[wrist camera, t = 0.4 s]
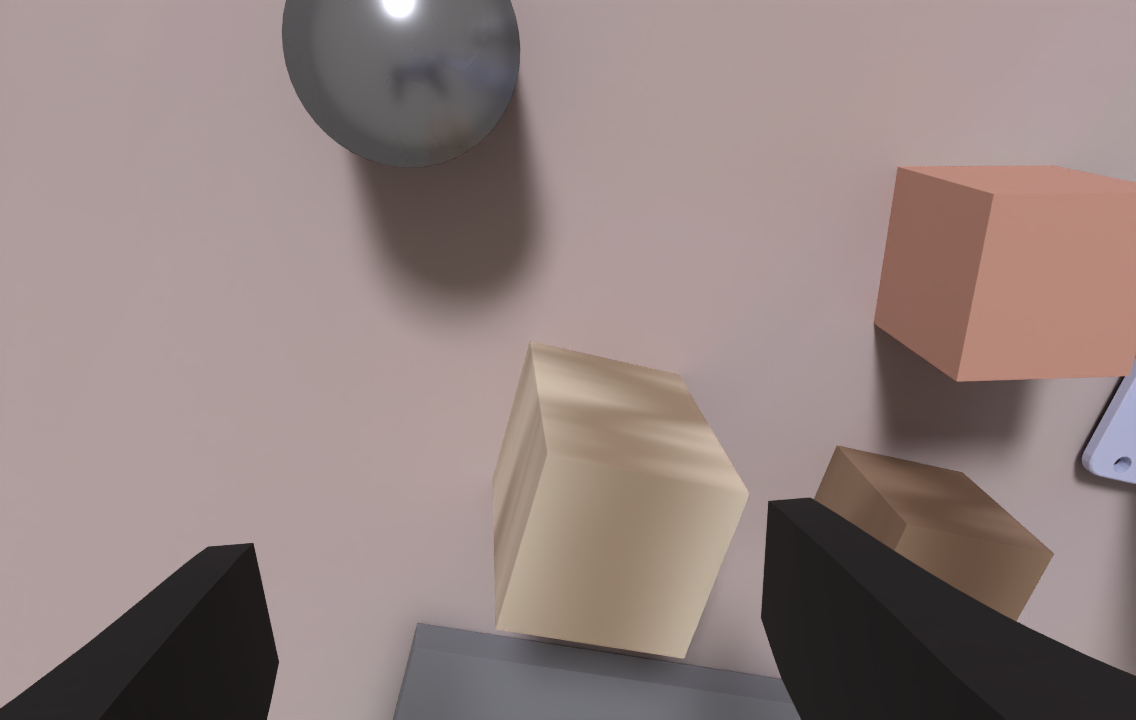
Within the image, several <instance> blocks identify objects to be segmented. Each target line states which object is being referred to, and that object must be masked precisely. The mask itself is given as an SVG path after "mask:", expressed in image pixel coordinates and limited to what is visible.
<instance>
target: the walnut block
mask: <svg viewBox="0 0 1136 720" xmlns="http://www.w3.org/2000/svg"><path fill="white" fill-rule="evenodd" d="M814 500H815V501H817V502H819V503H821V504H822V505H824V506H826V507H827V508H829V509H831V510H832V511H834V512H835V513H837V514H838V515H840V516H842V517H843V518H845V519H846V520H848V521H849V522H851V523H852V524H854V525H856V526H857V527H859V528H860V529H862V530H863V531H865V532H866V533H868V534H869V535H871V536H872V537H874V538H876V539H877V540H879V541H880V542H882V543H883V544H885V545H886V546H888V547H889V548H891V549H893V550H894V551H896V552H897V553H899V554H900V555H902V556H904V557H905V558H907V559H908V560H910V561H912V562H913V563H915V564H916V565H918V566H920V567H921V568H923V569H924V570H926V571H928V572H929V573H931V574H933V575H934V576H936V577H938V578H939V579H941V580H943V581H944V582H946V583H948V584H949V585H951V586H953V587H955V588H956V589H958V590H960V591H962V592H963V593H965V594H967V595H969V596H971V597H972V598H974V599H976V600H978V601H980V602H981V603H983V604H985V605H987V606H988V607H990V608H992V609H994V610H996V611H997V612H999V613H1001V614H1003V615H1005V616H1007V617H1009V618H1011V619H1013V620H1015V621H1017V619H1018V617H1019V615H1020V614H1021V612H1022V610H1023V608H1024V607H1025V605H1026V603H1027V601H1028V599H1029V598H1030V596H1031V594H1032V592H1033V590H1034V589H1035V587H1036V585H1037V583H1038V582H1039V580H1040V578H1041V576H1042V574H1043V573H1044V571H1045V569H1046V567H1047V566H1048V564H1049V562H1050V560H1051V558H1052V557H1053V555H1054V553H1053V552H1052V551H1051V550H1049V549H1048V548H1047V547H1046V546H1045V545H1044V544H1043V543H1042V542H1040V541H1039V540H1038V539H1037V538H1036V537H1035V536H1034V535H1033V534H1031V533H1030V532H1029V531H1028V530H1027V529H1026V528H1025V527H1024V526H1022V525H1021V524H1020V523H1019V522H1018V521H1017V520H1016V519H1015V518H1013V517H1012V516H1011V515H1010V514H1009V513H1008V512H1007V511H1005V510H1004V509H1003V508H1002V507H1001V506H1000V505H999V504H998V503H996V502H995V501H994V500H993V499H992V498H991V497H990V496H989V495H987V494H986V493H985V492H984V491H983V490H982V489H981V488H980V487H978V486H977V485H976V484H975V483H974V482H973V481H972V480H971V479H969V478H968V477H967V476H966V475H965V474H964V473H962V472H957V471H952V470H948V469H943V468H939V467H934V466H929V465H925V464H920V463H916V462H911V461H906V460H902V459H897V458H892V457H888V456H883V455H879V454H874V453H869V452H865V451H860V450H855V449H851V448H846V447H842V446H837V447H836V449H835V451H834V454H833V456H832V458H831V461H830V463H829V465H828V468H827V470H826V472H825V475H824V477H823V479H822V482H821V484H820V486H819V489H818V491H817V493H816V496H815V498H814Z"/></svg>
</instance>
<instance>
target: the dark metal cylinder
mask: <svg viewBox="0 0 1136 720" xmlns="http://www.w3.org/2000/svg"><path fill="white" fill-rule="evenodd" d="M282 41H283V51H284V57H285V63H286V67H287V70H288V73H289V76H290V80H291V82H292V84H293V87H294V89H295V91H296V93H297V96H298V97H299V99H300V101H301V102H302V104H303V106H304V107H305V109H306V111H307V112H308V113H309V114H310V116H311V117H312V118H313V120H314V121H315V122H316V123H317V124H318V125H319V126H320V128H321V129H322V130H323V131H324V132H325V133H326V134H327V135H329V136H330V137H331V138H332V139H333V140H335V141H336V142H337V143H338V144H340V145H341V146H343V147H344V148H346V149H348V150H349V151H351V152H352V153H354V154H357V155H359V156H361V157H363V158H365V159H367V160H370V161H374V162H377V163H380V164H384V165H389V166H394V167H408V168H413V167H426V166H431V165H435V164H440V163H443V162H446V161H448V160H451V159H454V158H456V157H458V156H460V155H461V154H463V153H465V152H467V151H468V150H470V149H471V148H473V147H474V146H475V145H477V144H478V143H479V142H480V141H481V140H483V139H484V138H485V137H486V136H487V135H488V134H489V133H490V132H491V130H492V129H493V128H494V127H495V125H496V124H497V123H498V122H499V120H500V118H501V117H502V115H503V114H504V112H505V110H506V108H507V106H508V104H509V102H510V100H511V97H512V95H513V91H514V88H515V85H516V82H517V76H518V71H519V64H520V40H519V31H518V26H517V21H516V16H515V13H514V10H513V7H512V4H511V1H510V0H286V3H285V8H284V13H283V24H282Z"/></svg>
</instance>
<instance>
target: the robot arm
mask: <svg viewBox="0 0 1136 720" xmlns="http://www.w3.org/2000/svg"><path fill="white" fill-rule="evenodd" d="M1119 458H1120V460H1119V462H1118V463H1117V464H1115V465H1114V463H1115V462H1116V461H1117V459H1119ZM1082 464H1083V466H1084V467H1085V469H1087V470H1088V471H1090V472H1091V473H1093V474H1095V475H1097V476H1100V477H1105V478H1109V479H1114V480H1118V481H1123V482H1127V483H1131V484H1136V358H1135V359H1134V362H1133V366H1132V369H1131V373H1130V376H1125V378H1124V379H1123V381H1122V383H1121V385H1120V387H1119V389H1118V390H1117V392H1116V394H1115V396H1114V398H1113V400H1112V401H1111V403H1110V405H1109V407H1108V409H1107V411H1106V412H1105V414H1104V416H1103V418H1102V420H1101V422H1100V423H1099V425H1098V427H1097V429H1096V431H1095V433H1094V434H1093V436H1092V438H1091V440H1090V442H1089V444H1088V445H1087V447H1086V449H1085V451H1084V453H1083V456H1082ZM761 619H762V622H763V625H764V628H765V631H766V634H767V637H768V640H769V644H770V647H771V650H772V653H773V655H774V658H775V661H776V664H777V667H778V670H779V672H780V675H781V678H782V681H783V683H784V685H785V687H786V689H787V692H788V694H789V696H790V698H791V700H792V702H793V704H794V706H795V708H796V710H797V712H798V714H799V716H800V718H801V720H1136V676H1135V675H1132V674H1130V673H1127V672H1124V671H1122V670H1120V669H1117V668H1115V667H1113V666H1110V665H1108V664H1106V663H1103V662H1101V661H1099V660H1096V659H1094V658H1092V657H1089V656H1087V655H1085V654H1083V653H1081V652H1079V651H1076V650H1074V649H1072V648H1070V647H1068V646H1066V645H1064V644H1062V643H1060V642H1058V641H1055V640H1053V639H1051V638H1049V637H1047V636H1045V635H1043V634H1041V633H1039V632H1036V631H1034V630H1032V629H1030V628H1028V627H1026V626H1024V625H1022V624H1020V623H1018V622H1016V621H1015V620H1013V619H1011V618H1009V617H1007V616H1005V615H1003V614H1001V613H999V612H997V611H996V610H994V609H992V608H990V607H988V606H987V605H985V604H983V603H981V602H980V601H978V600H976V599H974V598H972V597H971V596H969V595H967V594H965V593H963V592H962V591H960V590H958V589H956V588H955V587H953V586H951V585H949V584H948V583H946V582H944V581H943V580H941V579H939V578H938V577H936V576H934V575H933V574H931V573H929V572H928V571H926V570H924V569H923V568H921V567H920V566H918V565H916V564H915V563H913V562H912V561H910V560H908V559H907V558H905V557H904V556H902V555H900V554H899V553H897V552H896V551H894V550H893V549H891V548H889V547H888V546H886V545H885V544H883V543H882V542H880V541H879V540H877V539H876V538H874V537H872V536H871V535H869V534H868V533H866V532H865V531H863V530H862V529H860V528H859V527H857V526H856V525H854V524H852V523H851V522H849V521H848V520H846V519H845V518H843V517H842V516H840V515H838V514H837V513H835V512H834V511H832V510H831V509H829V508H827V507H826V506H824V505H822V504H821V503H819V502H817V501H815V500H814V499H812V498H800V499H787V500H775V501H768V516H767V532H766V548H765V564H764V579H763V595H762V611H761ZM278 664H279V660H278V655H277V651H276V646H275V641H274V637H273V632H272V627H271V623H270V618H269V613H268V609H267V604H266V599H265V595H264V590H263V585H262V581H261V576H260V571H259V567H258V562H257V557H256V553H255V548H254V543H247V544H235V545H223V546H211V547H207V548H205V549H204V550H203V551H201V552H200V553H198V554H197V555H196V556H194V557H193V558H192V559H191V560H189V561H188V562H187V563H185V564H184V565H183V566H182V567H180V568H179V569H178V570H177V571H176V572H174V573H173V574H172V575H171V576H169V577H168V578H167V579H166V580H165V581H163V582H162V583H161V584H160V585H159V586H157V587H156V588H155V589H154V590H153V591H151V592H150V593H149V594H148V595H146V596H145V597H144V598H143V599H142V600H140V601H139V602H138V603H137V604H136V605H134V606H133V607H132V608H131V609H129V610H128V611H127V612H126V613H124V614H123V615H122V616H121V617H120V618H118V619H117V620H116V621H115V622H113V623H112V624H111V625H110V626H109V627H107V628H106V629H105V630H104V631H102V632H101V633H100V634H99V635H97V636H96V637H95V638H94V639H92V640H91V641H90V642H89V643H87V644H86V645H85V646H84V647H82V648H81V649H80V650H78V651H77V652H76V653H74V654H73V655H72V656H70V657H69V658H68V659H66V660H65V661H64V662H62V663H61V664H60V665H58V666H57V667H56V668H54V669H53V670H52V671H50V672H49V673H48V674H46V675H45V676H44V677H42V678H41V679H40V680H38V681H37V682H36V683H34V684H33V685H32V686H30V687H29V688H28V689H26V690H25V691H24V692H23V693H21V694H20V695H19V696H17V697H16V698H14V699H13V700H12V701H10V702H9V703H7V704H6V705H5V706H3V707H2V708H0V720H267V716H268V712H269V708H270V703H271V699H272V694H273V689H274V684H275V679H276V674H277V669H278Z"/></svg>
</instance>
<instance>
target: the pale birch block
mask: <svg viewBox="0 0 1136 720" xmlns="http://www.w3.org/2000/svg"><path fill="white" fill-rule="evenodd" d="M749 495H750V494H749V492H748V491H747V489H746V487H745V486H744V484H743V482H742V480H741V479H740V477H739V475H738V474H737V472H736V470H735V469H734V467H733V465H732V464H731V462H730V460H729V459H728V457H727V455H726V453H725V452H724V450H723V448H722V447H721V445H720V443H719V442H718V440H717V438H716V437H715V435H714V433H713V432H712V430H711V428H710V426H709V425H708V423H707V421H706V420H705V418H704V416H703V415H702V413H701V411H700V410H699V408H698V406H697V405H696V403H695V401H694V399H693V398H692V396H691V394H690V393H689V391H688V389H687V388H686V386H685V384H684V383H683V381H682V379H681V378H680V376H679V375H678V374H673V373H669V372H664V371H660V370H656V369H651V368H647V367H642V366H638V365H633V364H629V363H624V362H620V361H616V360H611V359H607V358H602V357H598V356H593V355H589V354H584V353H580V352H576V351H571V350H567V349H562V348H558V347H553V346H549V345H544V344H540V343H536V342H531V341H530V343H529V347H528V350H527V354H526V358H525V361H524V365H523V369H522V372H521V376H520V380H519V383H518V387H517V391H516V395H515V398H514V402H513V406H512V409H511V413H510V417H509V420H508V424H507V428H506V431H505V435H504V439H503V442H502V446H501V450H500V453H499V457H498V461H497V464H496V468H495V472H494V475H493V519H494V572H495V625H496V630H502V631H509V632H515V633H522V634H528V635H535V636H541V637H548V638H554V639H560V640H567V641H573V642H580V643H586V644H593V645H599V646H606V647H612V648H618V649H625V650H631V651H638V652H644V653H651V654H657V655H664V656H670V657H676V658H683V659H684V658H685V655H686V653H687V650H688V648H689V645H690V643H691V640H692V638H693V635H694V633H695V630H696V628H697V625H698V623H699V620H700V618H701V615H702V613H703V610H704V607H705V605H706V602H707V600H708V597H709V595H710V592H711V590H712V587H713V585H714V582H715V580H716V577H717V575H718V572H719V570H720V567H721V565H722V562H723V560H724V557H725V555H726V552H727V550H728V547H729V545H730V542H731V540H732V537H733V535H734V532H735V530H736V527H737V525H738V522H739V520H740V517H741V515H742V512H743V510H744V507H745V505H746V502H747V500H748V497H749Z"/></svg>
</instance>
